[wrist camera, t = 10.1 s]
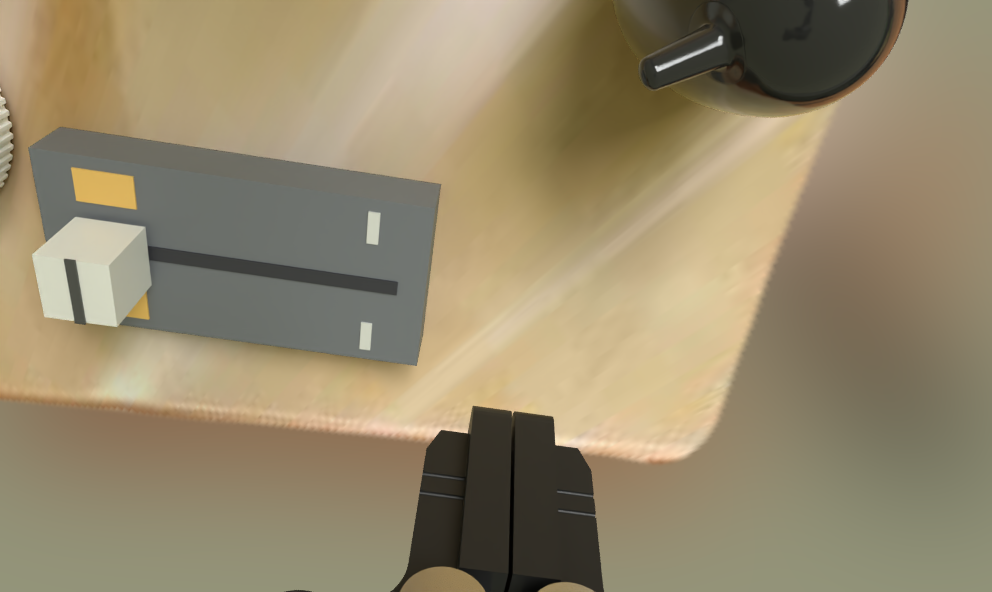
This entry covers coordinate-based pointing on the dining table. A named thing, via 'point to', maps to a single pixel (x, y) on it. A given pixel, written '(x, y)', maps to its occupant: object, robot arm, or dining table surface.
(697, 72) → the pump dispenser
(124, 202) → the fader slider base
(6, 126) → the plastic lid
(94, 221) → the fader knob
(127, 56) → the dining table surface
